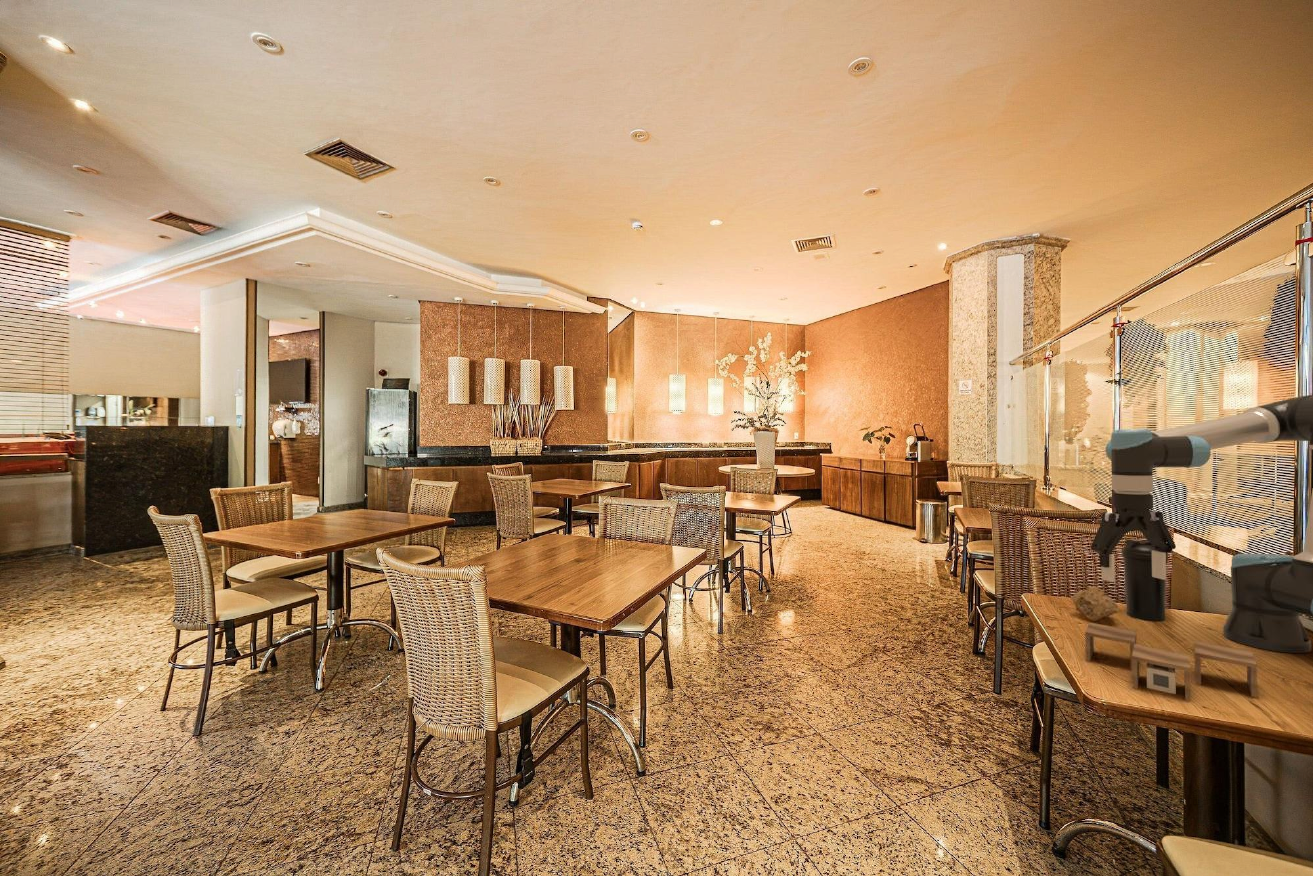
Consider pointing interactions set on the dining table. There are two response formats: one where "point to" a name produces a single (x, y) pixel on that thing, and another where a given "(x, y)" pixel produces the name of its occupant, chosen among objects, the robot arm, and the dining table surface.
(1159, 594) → the water bottle
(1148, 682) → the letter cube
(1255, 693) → the cover
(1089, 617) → the rock
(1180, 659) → the cover
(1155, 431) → the robot arm
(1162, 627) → the dining table surface
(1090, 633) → the cover
